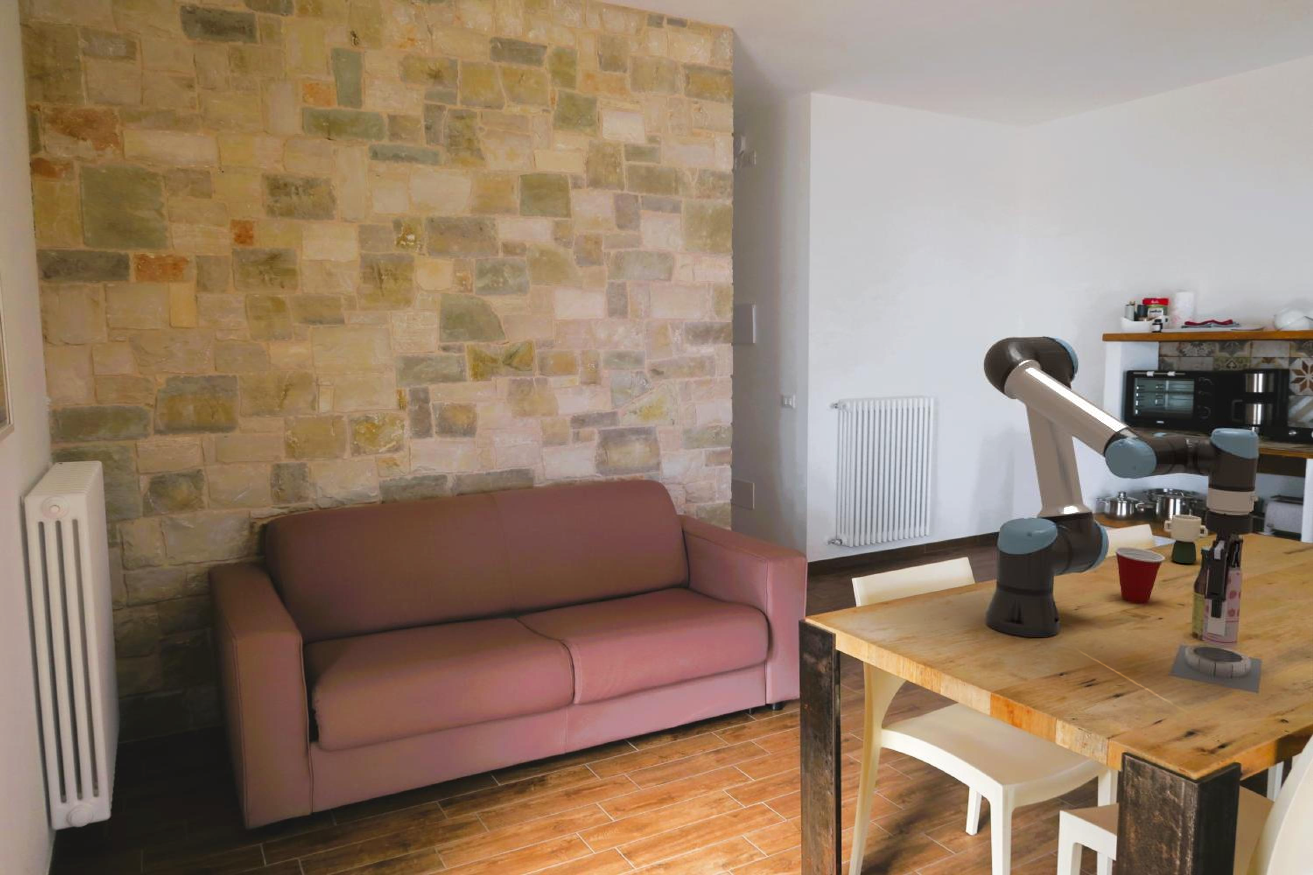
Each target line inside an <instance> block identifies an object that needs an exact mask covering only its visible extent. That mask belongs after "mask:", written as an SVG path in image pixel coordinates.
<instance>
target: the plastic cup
mask: <svg viewBox="0 0 1313 875" xmlns="http://www.w3.org/2000/svg"><path fill="white" fill-rule="evenodd" d="M1114 552H1115V555H1116V560H1117V561H1116V562H1117V566H1118V578H1119V586H1120V595H1121V598H1122V600H1123V601H1125V602H1128V603H1132V604H1147V603H1149V602H1150V599H1151V594H1152V591H1153V590H1154V586H1155V582H1156V578H1157V575H1158V572H1159V570H1160V566H1161V565H1162V563H1163V562H1165V560H1166V558H1165V556H1164V555H1162V554H1161V553H1158V552H1155V551H1152V550H1150V549H1149V550H1148V549H1145V548H1138V547H1130V546H1119V547H1116V548H1114Z"/></svg>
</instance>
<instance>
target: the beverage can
mask: <svg viewBox="0 0 1313 875" xmlns="http://www.w3.org/2000/svg"><path fill="white" fill-rule="evenodd" d="M1242 571H1243V570H1242V568H1239V567H1235V568H1233V567H1230V571H1229V577H1228V585H1227V592H1226V600H1225V601H1227V610H1226V622H1225V635H1224V636H1223V635H1218V634H1214V633H1209V632H1207V628H1208V614H1209V601H1210V599H1205V610H1204V623H1203V636H1202V639H1203V640H1202V641H1203V642H1204V643H1205V645H1211V646H1215V647H1220V648H1228V649H1232V648H1235V647H1236V646H1237V645H1238V636H1239V626H1240V625H1239V622H1240V611H1241V610H1240V608H1241V600H1242V598H1241V597H1242V584H1243V573H1242ZM1208 576H1209V569H1208V572H1207V585H1206V594H1207V587H1208Z"/></svg>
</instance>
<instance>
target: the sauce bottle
mask: <svg viewBox="0 0 1313 875" xmlns="http://www.w3.org/2000/svg"><path fill="white" fill-rule="evenodd" d="M1211 547H1212V545H1211V546H1210V545H1209V546H1207V545H1205V546H1202V547H1201V548H1200V555H1201V564H1200V569H1199V570H1198V574H1197V577H1196V579H1195V581H1194V582H1193V586H1192V589H1193V590H1192V611H1191V612H1192V614H1191V632H1192V633H1191V635H1192V637H1193V638H1195V639H1197V640H1200V641H1203V639H1202V636H1203V623H1204V610H1205V595H1206V585H1207V572H1208V569H1209V564H1210V551H1209V550H1210V548H1211Z"/></svg>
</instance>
